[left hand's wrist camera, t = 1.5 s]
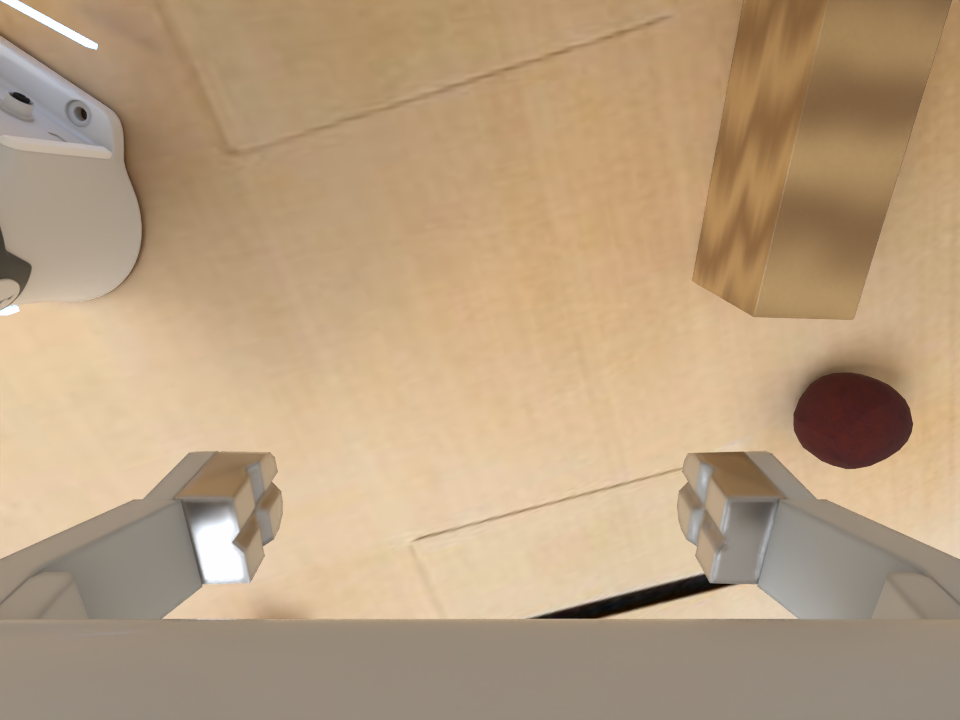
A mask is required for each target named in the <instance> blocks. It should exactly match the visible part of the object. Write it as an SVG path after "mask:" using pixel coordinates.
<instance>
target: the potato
mask: <svg viewBox="0 0 960 720" xmlns="http://www.w3.org/2000/svg"><path fill="white" fill-rule="evenodd" d="M912 427H913V422H912V417H911V412H910V408H909V406H908V404H907V402H906V401H905V399H904V398H903V397H902V396H901V395H900V394H899V393H898V392H897V391H896V390H894V389H893V388H892V387H891V386H889V385H888V384H886V383H883V382H881V381H879V380H876V379H874V378H871V377H868V376H864V375H861V374H854V373H833V374H830V375H827V376H823V377H821V378H820V379H818V380H817V381H815V382H814V383H812V384H811V385H810V386H809V387H808V388H807V390H806V391H805V392H804V394H803V395H802V396H801V398H800V400H799V402H798V404H797V407H796V409H795V412H794V431H795V433H796V435H797V438H798V440H799V442H800V443H801V445H802V446H803V448H805V449H806V450H808V451H809V452H810V453H812V454H813V455H814V456H816V457H817V458H818V459H820V460H821V461H823V462H826V463H828V464H831V465H833V466H837V467H841V468H845V469H856V468H862V467H867V466H871V465H873V464H875V463H878V462H880V461H882V460H884V459H886V458H888V457H890V456H891V455H893V454H894V453H896V452H897V451H899V450H900V449H901V448H902V447H903V445H904V444H905V443H906V442H907V441H908V439H909V437H910V434H911V432H912Z"/></svg>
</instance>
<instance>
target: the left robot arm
mask: <svg viewBox="0 0 960 720" xmlns="http://www.w3.org/2000/svg"><path fill="white" fill-rule="evenodd" d="M1 1H3V2H5V3H7V4H9V5H11V6H12V7H14V8H16V9H18V10H20V11H22V12H23V13H25V14H27V15H29V16H31V17H33V18H34V19H36V20H38V21H40V22H42V23H44V24H46V25H47V26H49V27H51V28H53V29H55V30H57V31H58V32H60V33H62V34H64V35H66V36H68V37H69V38H71V39H73V40H75V41H77V42H79V43H80V44H82V45H84V46H86V47H90V48H93V49H97V45H98V44H96V43H94V42H92V41H90V40H89V39H87V38H85V37H83V36H81V35H79V34H78V33H76V32H74V31H72V30H70V29H68V28H67V27H65V26H63V25H61V24H59V23H57V22H56V21H54V20H52V19H50V18H48V17H46V16H45V15H43V14H41V13H39V12H37V11H36V10H34V9H32V8H30V7H28V6H26V5H25V4H23V3H21V2H19V1H17V0H1ZM82 109H84V110H85V111H86V113H87V118H86V120H85V119H84V118H83V117H82ZM141 239H142V221H141V214H140V208H139V204H138V201H137V197H136V194H135V192H134V189H133V186H132V184H131V181H130V179H129V176H128V174H127V171H126V167H125V163H124V134H123V128H122V124H121V121H120V119H119V118H118V116H117V115H116V114H115V113H114V112H113V111H112V110H111V109H110V108H108V107H107V106H105V105H104V104H102V103H101V102H99V101H98V100H96V99H95V98H93V97H92V96H90V95H89V94H87V93H86V92H84V91H83V90H81V89H80V88H78V87H77V86H75V85H74V84H72V83H71V82H69V81H68V80H66V79H65V78H63V77H62V76H60V75H59V74H57V73H56V72H54V71H53V70H51V69H50V68H48V67H47V66H45V65H44V64H42V63H41V62H39V61H38V60H36V59H35V58H33V57H32V56H30V55H29V54H27V53H26V52H24V51H23V50H21V49H20V48H18V47H17V46H15V45H14V44H12V43H11V42H9V41H8V40H6V39H5V38H3V37H2V36H0V315H9V314H12V313H15V312H18V311H19V309H18V307H14V306H20V305H26V304H33V303H43V302H82V301H88V300H92V299H95V298H98V297H101V296H103V295H105V294H107V293H109V292H111V291H112V290H114V289H115V288H116V287H118V286H119V285H120V284H121V283H122V282H123V281H124V280H125V279H126V278H127V276H128V275H129V274H130V272H131V270H132V269H133V267H134V265H135V263H136V260H137V258H138V255H139V251H140V246H141ZM277 472H278V471H277V466H276V461H275V457H274V456H273V455H272V454H271V453H270V452H218V451H196V452H191V453H188V454H187V455H186V456H185V457H184V458H183V459H182V460H181V461H180V463H179V464H178V465H177V466H176V467H175V468H174V469H173V470H172V471H171V472H170V473H169V474H168V475H167V476H166V477H165V478H164V479H163V480H162V481H161V482H160V483H159V484H158V485H157V486H156V487H155V488H154V489H153V490H152V491H151V492H150V493H149V494H148V495H147V496H146V497H145V498H144V499H143V500H132V501H130V502H128V503H125V504H123V505H121V506H119V507H116V508H114V509H112V510H110V511H107V512H105V513H103V514H101V515H98V516H96V517H94V518H92V519H89V520H87V521H85V522H83V523H80V524H78V525H76V526H74V527H71V528H69V529H67V530H65V531H63V532H60V533H58V534H56V535H54V536H51V537H49V538H47V539H45V540H42V541H40V542H38V543H36V544H33V545H31V546H29V547H27V548H24V549H22V550H20V551H18V552H15V553H13V554H11V555H9V556H6V557H4V558H2V559H0V720H960V559H958V558H955V557H953V556H951V555H949V554H946V553H944V552H942V551H940V550H938V549H935V548H933V547H931V546H929V545H926V544H924V543H922V542H920V541H917V540H915V539H913V538H911V537H908V536H906V535H904V534H902V533H900V532H897V531H895V530H893V529H891V528H888V527H886V526H884V525H882V524H879V523H877V522H875V521H873V520H870V519H868V518H866V517H864V516H862V515H859V514H857V513H855V512H853V511H850V510H848V509H846V508H844V507H841V506H839V505H837V504H835V503H832V502H830V501H828V500H817V499H816V498H815V497H814V496H813V495H812V494H811V493H810V492H809V491H808V490H807V489H806V487H805V486H804V485H803V484H802V483H801V482H800V481H799V480H798V479H797V478H796V477H795V476H794V475H793V474H792V473H791V472H790V471H789V470H788V469H787V468H786V467H785V466H784V465H783V464H782V463H781V462H780V461H779V460H778V459H777V458H776V457H775V456H774V455H773V454H772V453H769V452H766V451H750V452H716V453H688V454H687V456H686V458H685V460H684V465H683V471H682V472H683V474H684V475H685V477H686V479H687V480H688V482H687V483H686V484H685V485H684V487H683V488H682V489H681V490H680V491H679V495H678V503H677V510H678V520H679V523H680V527H681V530H682V532H683V534H684V536H685V538H686V539H687V540H688V541H690V542H691V543H693V544H694V545H696V546H697V550H696V558H697V560H698V562H699V564H700V565H701V567H702V569H703V571H704V573H705V574H706V576H707V578H708V580H709V582H710V583H732V584H758V587H759V588H760V589H762V590H763V591H764V592H765V593H767V594H768V595H769V596H770V597H772V598H773V599H774V600H775V601H777V602H778V603H779V604H781V605H782V606H783V607H784V608H786V609H787V610H788V611H789V612H791V613H792V614H793V615H795V616H796V617H797V618H798V619H162V618H163V617H164V616H166V615H167V614H168V613H169V612H171V611H172V610H173V609H175V608H176V607H177V606H178V605H180V604H181V603H182V602H183V601H185V600H186V599H187V598H189V597H190V596H191V595H192V594H194V593H195V592H196V591H197V590H199V589H200V588H201V587H202V584H227V583H250V582H251V580H252V578H253V576H254V575H255V573H256V571H257V569H258V567H259V565H260V564H261V562H262V560H263V558H264V550H263V546H264V545H266V544H267V543H269V542H270V541H272V540H273V539H274V538H275V536H276V534H277V532H278V530H279V527H280V523H281V518H282V514H283V501H282V494H281V491H280V490H279V489H278V488H277V486H276V485H275V484H274V483H273V482H272V480H273V479H274V477H275V475H276V474H277Z"/></svg>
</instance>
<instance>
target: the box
mask: <svg viewBox="0 0 960 720" xmlns="http://www.w3.org/2000/svg"><path fill="white" fill-rule="evenodd" d="M951 1H952V0H744V1H743V6H742V12H741V17H740V23H739V28H738V34H737V39H736V45H735V50H734V55H733V61H732V66H731V72H730V77H729V83H728V88H727V94H726V99H725V105H724V110H723V116H722V121H721V127H720V132H719V137H718V143H717V148H716V154H715V159H714V165H713V170H712V176H711V181H710V187H709V192H708V198H707V203H706V209H705V214H704V219H703V225H702V230H701V236H700V241H699V247H698V252H697V258H696V263H695V269H694V274H693V280H692V281H693V282H695V283H697V284H698V285H700V286H702V287H703V288H705V289H707V290H709V291H710V292H712V293H714V294H715V295H717V296H719V297H721V298H722V299H724V300H726V301H727V302H729V303H731V304H733V305H734V306H736V307H738V308H739V309H741V310H743V311H745V312H746V313H748V314H750V315H751V316H753V317H771V318H808V319H845V320H853V319H854V316H855V313H856V310H857V307H858V303H859V300H860V297H861V294H862V290H863V287H864V284H865V281H866V277H867V274H868V271H869V268H870V264H871V261H872V258H873V255H874V251H875V248H876V245H877V242H878V238H879V235H880V232H881V229H882V225H883V222H884V219H885V216H886V212H887V209H888V206H889V203H890V199H891V196H892V193H893V190H894V187H895V183H896V180H897V177H898V174H899V170H900V167H901V164H902V161H903V157H904V154H905V151H906V148H907V144H908V141H909V138H910V135H911V131H912V128H913V125H914V122H915V118H916V115H917V112H918V109H919V105H920V102H921V99H922V96H923V92H924V89H925V86H926V83H927V79H928V76H929V73H930V70H931V66H932V63H933V60H934V57H935V53H936V50H937V47H938V44H939V40H940V37H941V34H942V31H943V27H944V24H945V21H946V18H947V14H948V11H949V8H950V5H951Z"/></svg>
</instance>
